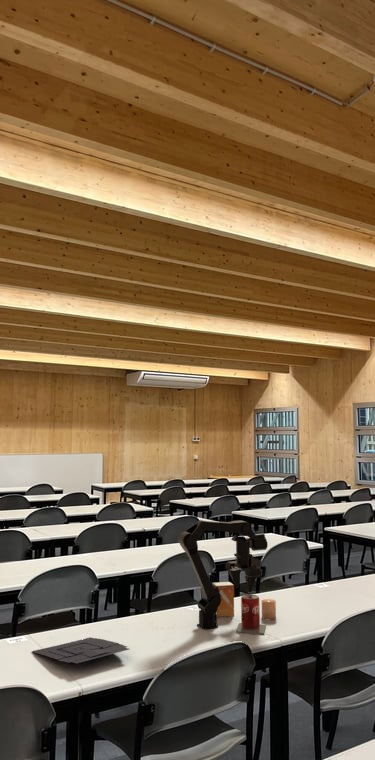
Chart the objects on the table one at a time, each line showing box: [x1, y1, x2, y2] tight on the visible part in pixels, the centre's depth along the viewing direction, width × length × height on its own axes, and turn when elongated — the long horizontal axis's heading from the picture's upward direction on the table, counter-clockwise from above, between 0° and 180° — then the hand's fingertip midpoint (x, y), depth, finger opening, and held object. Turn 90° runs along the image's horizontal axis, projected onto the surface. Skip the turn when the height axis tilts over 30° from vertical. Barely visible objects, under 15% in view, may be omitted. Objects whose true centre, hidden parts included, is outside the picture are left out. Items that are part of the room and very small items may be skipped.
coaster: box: [235, 622, 267, 636], centre depth 221 cm, size 11×11×1 cm
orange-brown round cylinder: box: [261, 598, 277, 621], centre depth 237 cm, size 6×6×7 cm
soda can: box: [240, 594, 261, 630], centre depth 222 cm, size 7×7×12 cm
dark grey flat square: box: [31, 637, 130, 664], centre depth 193 cm, size 24×30×4 cm
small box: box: [211, 581, 235, 618], centre depth 243 cm, size 8×6×13 cm
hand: (243, 589), depth 232 cm, fingers open, 9 cm apart
